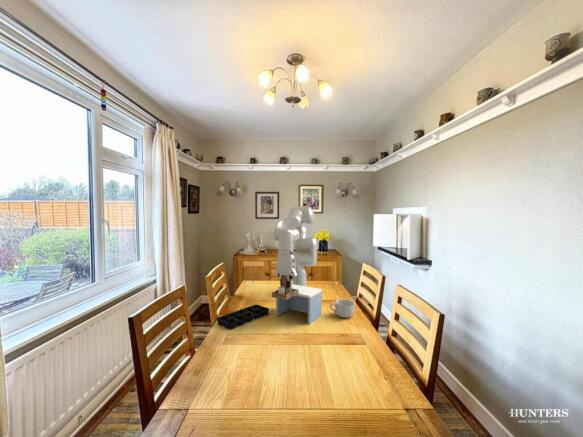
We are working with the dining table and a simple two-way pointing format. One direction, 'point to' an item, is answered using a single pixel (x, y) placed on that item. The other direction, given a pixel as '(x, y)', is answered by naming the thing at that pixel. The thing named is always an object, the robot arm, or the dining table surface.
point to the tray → (285, 290)
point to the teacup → (343, 308)
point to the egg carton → (242, 316)
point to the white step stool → (302, 302)
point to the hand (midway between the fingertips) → (285, 286)
